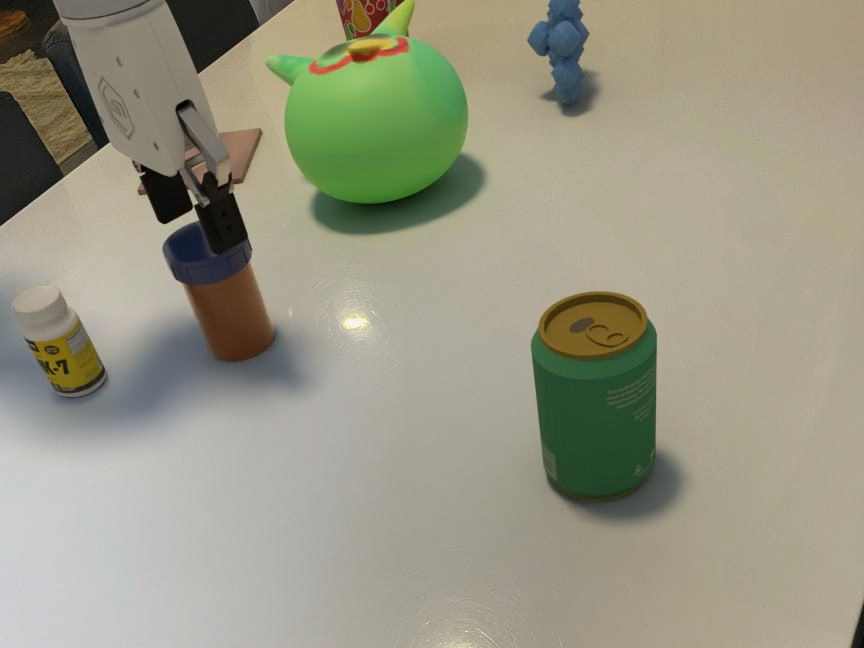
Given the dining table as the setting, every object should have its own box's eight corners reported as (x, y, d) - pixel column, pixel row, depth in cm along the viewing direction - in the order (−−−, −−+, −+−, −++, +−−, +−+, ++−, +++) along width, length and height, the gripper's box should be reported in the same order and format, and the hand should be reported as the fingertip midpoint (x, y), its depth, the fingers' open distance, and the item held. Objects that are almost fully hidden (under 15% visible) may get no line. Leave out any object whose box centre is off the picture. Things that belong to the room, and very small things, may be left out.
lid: (162, 289, 78) (153, 266, 77) (182, 244, 82) (173, 221, 81) (243, 280, 77) (235, 257, 76) (259, 235, 82) (251, 213, 80)
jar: (202, 364, 84) (162, 269, 77) (216, 324, 88) (179, 230, 81) (268, 358, 84) (233, 262, 77) (280, 318, 87) (247, 223, 80)
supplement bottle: (44, 395, 85) (-6, 311, 78) (76, 362, 87) (30, 278, 81) (87, 402, 83) (39, 317, 77) (118, 369, 86) (75, 284, 79)
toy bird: (325, 251, 94) (281, 91, 82) (290, 178, 104) (247, 28, 93) (498, 198, 95) (478, 34, 84) (447, 132, 106) (423, -21, 95)
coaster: (138, 194, 107) (136, 190, 106) (165, 143, 114) (163, 139, 114) (242, 182, 105) (241, 178, 105) (262, 132, 112) (260, 127, 112)
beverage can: (596, 416, 73) (589, 272, 64) (678, 461, 69) (684, 313, 59) (521, 472, 70) (502, 330, 61) (602, 522, 66) (595, 378, 57)
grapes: (534, 75, 112) (524, -45, 103) (592, 69, 111) (588, -53, 102) (528, 121, 105) (517, -4, 96) (591, 115, 104) (586, -12, 95)
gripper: (3, -18, 67) (113, 221, 81) (119, 25, 58) (222, 287, 72) (95, -55, 70) (187, 183, 84) (221, -20, 61) (301, 241, 74)
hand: (202, 229), depth 78 cm, fingers open, 7 cm apart
